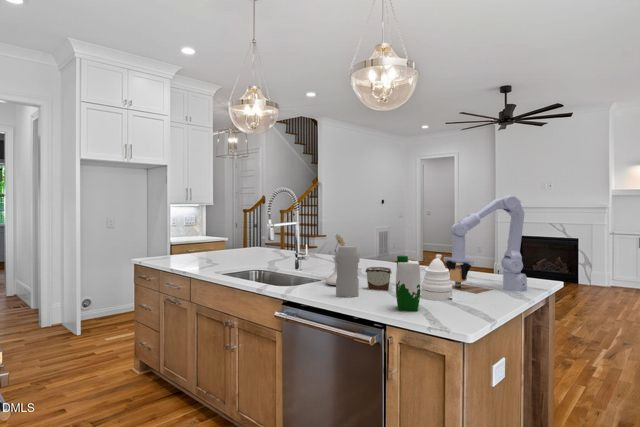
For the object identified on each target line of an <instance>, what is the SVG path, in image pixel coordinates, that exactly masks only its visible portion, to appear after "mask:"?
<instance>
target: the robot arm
mask: <svg viewBox="0 0 640 427" xmlns="http://www.w3.org/2000/svg"><path fill="white" fill-rule="evenodd" d="M497 210H503V211H504V212H506V213H507V214H508V215H509V216H510V223H509V231H508V232H509V233H508V239H507V249H506V250H505V253H504V254H503V258H502V259H501V267H502V268H503V271H502V289H503V290H506V291H515V292H518V293H519V292H520V293H521V292H524V291H525V292H526V291H528V290H527V288H528V287H527V286H528V278H527V275H526V274H525V273H522V272H521V271H522V270H523V268H524V263H523V256H522V254H521V244H522V237H523V236H522V235H523V229H524V221H525V211H524V209H523V207H522V201H521V200H520V199H519V198H518V197H517V196H516V195H513V194H508V195H500V196H499V197H497V198H495V199H494V200H492V201H491V202H490V203H488V204H487V205H485V206H484V207H483V208H481V209H480V210H479V211H478V212H475V213H474V212H472V213H468V214H466V216H465V217H464V218H463V219H459V220H458V223H454V224H453V225H452V226H451V228H450V233H451V234H452V239H451V257H450V256H444V257H443V262H445V267H446V268H447V269H448V270H449V272H448V274H450V269H456V266H457V264H460V269H461V270H462V280H466V277H467V276H468V274H469V271H470V269H471V267H472V266H473V265H475V260H472V259H467V258H466V235H467V233H468V232H469V231H470V230H472V229H473V228H474V227H477V226H478V225H479V224H481V220H482V219H483V218H485V217H486V216H488V215H491V213H493V212H494V211H497Z"/></svg>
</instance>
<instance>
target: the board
mask: <svg viewBox="0 0 640 427" xmlns="http://www.w3.org/2000/svg"><path fill="white" fill-rule="evenodd" d="M452 290H455V291H460V292H464V293H465V292H466V293H470V294H475V295H477V294H482V293H487V292H489V291H493V290H494V289H492V288H487V287H481V286H477V285H476V286H475V285H472V284H471V285H469V284H464V283H461V288H455V285H452Z"/></svg>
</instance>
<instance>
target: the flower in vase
mask: <svg viewBox="0 0 640 427" xmlns="http://www.w3.org/2000/svg"><path fill="white" fill-rule="evenodd" d="M334 236H335V240H336V242H337V244H336V245H335V248H334V253H335V254H336V253H337V252H338V251H337V247H338V245H340V247H342V246H346V243H345V241H344V238H343V237H342V236H341V235H340V234H338V233H336V234H335V235H334ZM332 259H333V261H334V271H333V272H332V274H331V275H329V276H328V277H327V278H326V279H325V282H326V284H328V285H331V286H336V279H337V263H336V262H335V255H334V256H332Z"/></svg>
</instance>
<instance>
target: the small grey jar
mask: <svg viewBox="0 0 640 427" xmlns="http://www.w3.org/2000/svg"><path fill="white" fill-rule="evenodd" d="M454 282H455V283H454V286H455V288H461V284H462V282H457V281H454Z"/></svg>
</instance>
